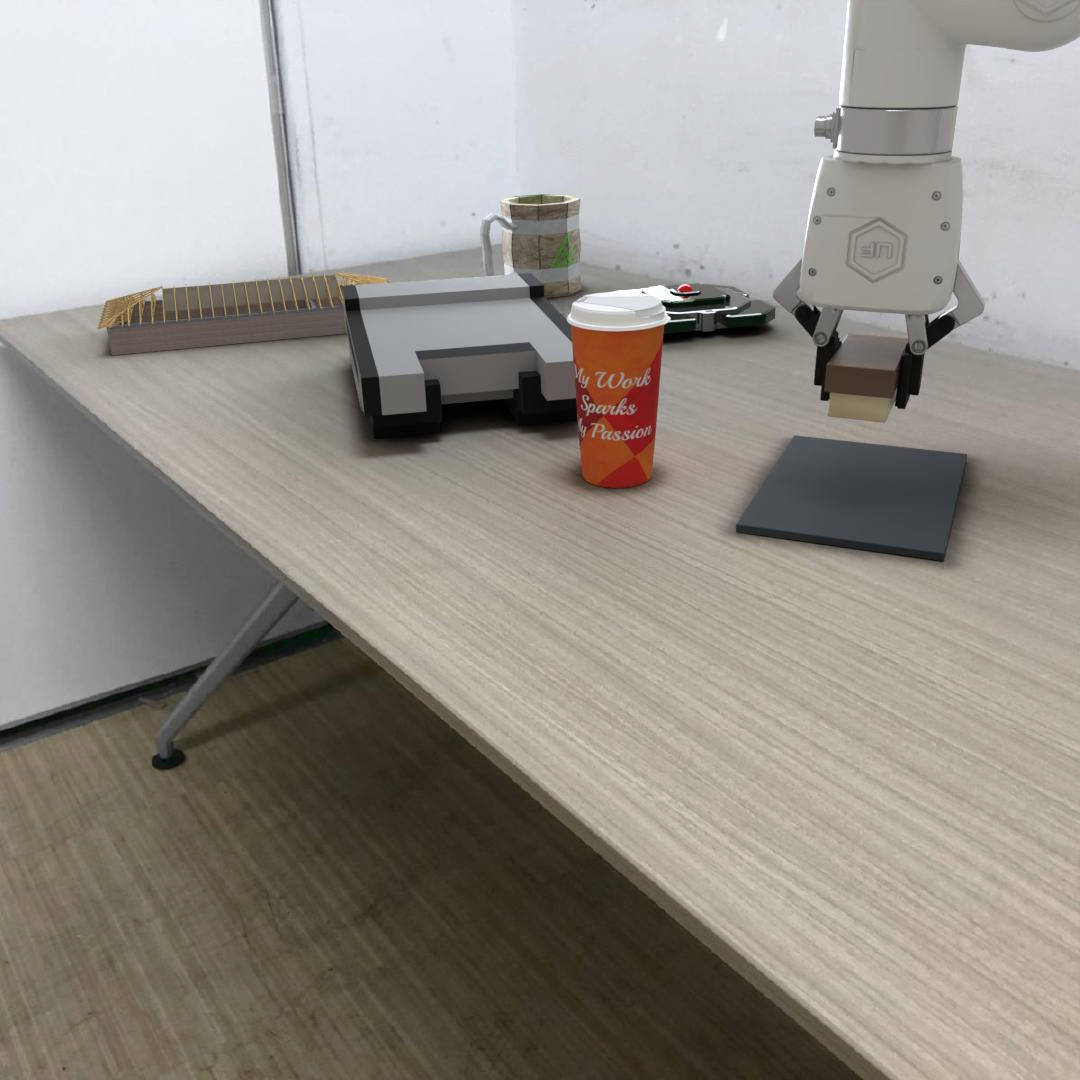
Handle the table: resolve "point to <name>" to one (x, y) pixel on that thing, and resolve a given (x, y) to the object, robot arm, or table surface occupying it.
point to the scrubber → (864, 377)
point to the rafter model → (228, 313)
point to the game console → (458, 350)
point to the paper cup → (617, 384)
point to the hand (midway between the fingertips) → (865, 397)
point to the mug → (538, 240)
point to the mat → (859, 497)
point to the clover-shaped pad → (708, 307)
